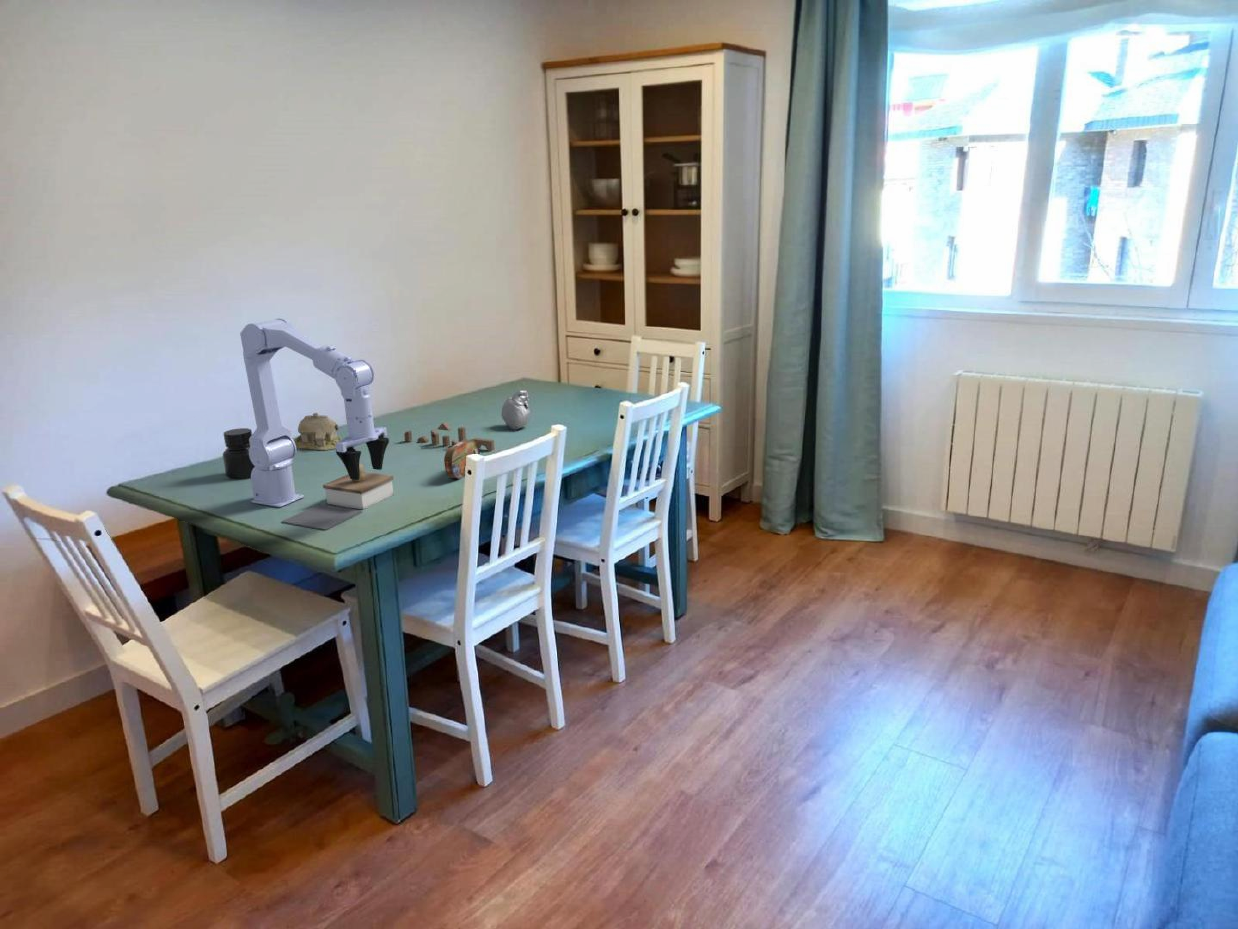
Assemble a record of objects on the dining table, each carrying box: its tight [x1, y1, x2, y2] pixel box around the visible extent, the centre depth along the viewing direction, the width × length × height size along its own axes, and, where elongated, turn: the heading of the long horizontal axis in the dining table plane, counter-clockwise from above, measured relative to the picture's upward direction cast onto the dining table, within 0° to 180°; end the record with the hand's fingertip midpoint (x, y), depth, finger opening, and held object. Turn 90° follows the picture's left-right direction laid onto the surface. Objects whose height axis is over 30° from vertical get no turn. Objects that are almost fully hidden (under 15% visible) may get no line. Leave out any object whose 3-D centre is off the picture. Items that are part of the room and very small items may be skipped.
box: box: [325, 480, 394, 511], centre depth 209 cm, size 11×11×4 cm
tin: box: [443, 438, 481, 480], centre depth 226 cm, size 15×3×8 cm, turn 161°
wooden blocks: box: [403, 421, 495, 452], centre depth 252 cm, size 30×3×7 cm, turn 67°
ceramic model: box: [293, 412, 343, 451], centre depth 255 cm, size 14×11×10 cm
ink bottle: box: [222, 428, 255, 480], centre depth 229 cm, size 10×9×12 cm
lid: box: [322, 462, 394, 494], centre depth 208 cm, size 12×12×5 cm
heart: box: [500, 390, 531, 431], centre depth 269 cm, size 10×10×12 cm
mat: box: [281, 503, 363, 531], centre depth 199 cm, size 13×12×1 cm
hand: (366, 474), depth 196 cm, fingers open, 7 cm apart
